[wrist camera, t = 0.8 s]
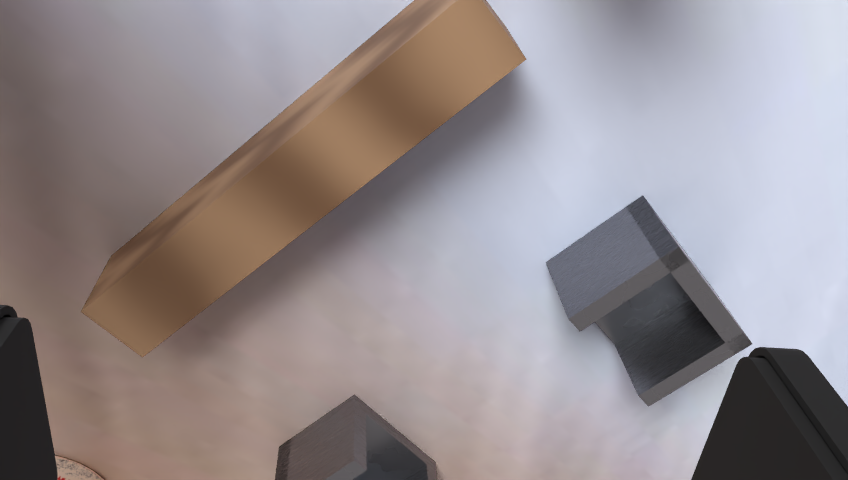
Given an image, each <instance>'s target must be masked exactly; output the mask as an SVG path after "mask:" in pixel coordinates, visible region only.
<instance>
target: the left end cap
mask: <svg viewBox="0 0 848 480" xmlns="http://www.w3.org/2000/svg"><path fill="white" fill-rule="evenodd" d="M275 480H437V471H436V462H434V461H433V460H432V459H431V458H430V457H428V456H427V455H426V454H425V453H424V452H422V451H421V450H420V449H419V448H418V447H416V446H415V445H414V444H413V443H412V442H410V441H409V440H408V439H407V438H406V437H404V436H403V435H402V434H401V433H400V432H398V431H397V430H396V429H395V428H394V427H392V426H391V425H390V424H389V423H388V422H386V421H385V420H384V419H383V418H382V417H380V416H379V415H378V414H377V413H376V412H374V411H373V410H372V409H371V408H369V407H368V406H367V405H366V404H365V403H363V402H362V401H361V400H360V399H359V398H357V397H356V396H355V395H354V396H352V397H351V398H349V399H348V400H346V401H345V402H343V403H342V404H340V405H339V406H338V407H336V408H335V409H333V410H332V411H330V412H329V413H327V414H326V415H325V416H323V417H322V418H320V419H319V420H317V421H316V422H314V423H313V424H312V425H310V426H309V427H307V428H306V429H304V430H303V431H301V432H300V433H299V434H297V435H296V436H294V437H293V438H291V439H290V440H288V441H287V442H286V443H284V444H283V445H281V446H280V447H279V452H278V460H277V468H276V476H275Z"/></svg>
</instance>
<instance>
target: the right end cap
mask: <svg viewBox="0 0 848 480" xmlns="http://www.w3.org/2000/svg"><path fill="white" fill-rule="evenodd" d="M546 264H547V266H548V269H549V271H550V274H551V276H552V279H553V281H554V284H555V286H556V289H557V291H558V294H559V296H560V299H561V301H562V304H563V306H564V309H565V311H566V314H567V316H568V319H569V320H570V321H571V322H572V323H573V324H574V326H575V327H576V328H577V329H578V330H579V331H582V330H583V329H585V328H586V327H588V326H589V325H591V324H592V323H594V322H595V323H596V324H597V325H598V326H599V327H600V328H601V329H602V331H603V332H604V333H605V334H606V335H607V336H608V337H609V338H610V340H611V341H612V342H613V343H614V344H615V346H616V348H617V350H618V353H619V355H620V357H621V359H622V361H623V363H624V366H625V368H626V370H627V372H628V374H629V376H630V379H631V381H632V383H633V385H634V387H635V389H636V391H637V394H638V396H639V397H640V398H641V399H642V400H643V401H644V402H645V403H646V404H647V406H650V405H652V404H653V403H655V402H657V401H658V400H660V399H662V398H663V397H665V396H667V395H668V394H670V393H672V392H673V391H675V390H677V389H678V388H680V387H682V386H683V385H685V384H687V383H688V382H690V381H692V380H693V379H695V378H697V377H698V376H700V375H702V374H703V373H705V372H707V371H708V370H710V369H712V368H713V367H715V366H717V365H718V364H720V363H722V362H723V361H725V360H727V359H728V358H730V357H732V356H733V355H735V354H736V353H738V352H740V351H741V350H743V349H745V348H746V347H748V346H750V345H751V344H752V343H751V341H750V340H749V338H748V337H747V336H746V334H745V333H744V331H743V330H742V329H741V327H740V326H739V324H738V323H737V322H736V320H735V319H734V317H733V316H732V315H731V313H730V312H729V310H728V309H727V308H726V306H725V305H724V303H723V302H722V301H721V299H720V298H719V296H718V295H717V294H716V292H715V291H714V289H713V288H712V287H711V285H710V284H709V283H708V281H707V280H706V279H705V277H704V276H703V275H702V273H701V272H700V271H699V269H698V268H697V267H696V265H695V264H694V263H693V261H692V260H691V259H690V257H689V256H688V255H687V253H686V252H685V251H684V249H683V248H682V247H681V245H680V244H679V243H678V241H677V240H676V239H675V237H674V236H673V235H672V233H671V232H670V231H669V230H668V228H667V227H666V226H665V224H664V223H663V222H662V220H661V219H660V218H659V216H658V215H657V214H656V212H655V211H654V210H653V208H652V207H651V206H650V204H649V203H648V202H647V200H646V199H645V198H644V196H641V197H640V198H638V199H637V200H636V201H634V202H633V203H631V204H630V205H628V206H627V207H625V208H624V209H623V210H621V211H620V212H618V213H617V214H615V215H614V216H612V217H611V218H610V219H608V220H607V221H605V222H604V223H602V224H601V225H599V226H598V227H597V228H595V229H594V230H592V231H591V232H589V233H588V234H586V235H585V236H584V237H582V238H581V239H579V240H578V241H576V242H575V243H573V244H572V245H571V246H569V247H568V248H566V249H565V250H563V251H562V252H560V253H559V254H557V255H556V256H555V257H553V258H552V259H550V260H549V261H547V262H546Z"/></svg>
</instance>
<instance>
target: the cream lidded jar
mask: <svg viewBox="0 0 848 480" xmlns="http://www.w3.org/2000/svg"><path fill="white" fill-rule="evenodd" d="M55 459H56V465H57V473H58V478H57V480H104V479H103V478H102V477H100V476H99V475H98V474H97V473H95V472H94V471H93V470H91V469H89V468H88V467H86V466H84V465H82V464H80V463H77V462H75V461H72V460H69V459H67V458H63V457H59V456H55Z"/></svg>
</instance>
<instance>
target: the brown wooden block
mask: <svg viewBox="0 0 848 480" xmlns="http://www.w3.org/2000/svg"><path fill="white" fill-rule="evenodd" d="M525 60H526V58H525V56H524V55H523V53H522V52H521V50H520V48H519V47H518V45H517V44H516V42H515V40H514V39H513V37H512V36H511V34H510V33H509V31H508V29H507V28H506V26H505V25H504V24H503V22H502V21H501V20H500V18H499V17H498V16H497V14H496V13H495V12H494V10H493V9H492V8H491V6H490V5H489V4H488V2H487V1H486V0H414V1H413V2H412V3H411V4H409V5H408V6H407V7H406V8H405V9H403V10H402V11H401V12H400V13H399V14H398V15H396V16H395V17H394V18H393V19H392V20H390V21H389V22H388V23H387V24H386V25H385V26H383V27H382V28H381V29H380V30H379V31H377V32H376V33H375V34H374V35H373V36H371V37H370V38H369V39H368V40H367V41H366V42H364V43H363V44H362V45H361V46H360V47H358V48H357V49H356V50H355V51H354V52H353V53H351V54H350V55H349V56H348V57H347V58H345V59H344V60H343V61H342V62H341V63H339V64H338V65H337V66H336V67H335V68H334V69H332V70H331V71H330V72H329V73H328V74H326V75H325V76H324V77H323V78H322V79H321V80H319V81H318V82H317V83H316V84H315V85H313V86H312V87H311V88H310V89H309V90H307V91H306V92H305V93H304V94H303V95H302V96H300V97H299V98H298V99H297V100H296V101H294V102H293V103H292V104H291V105H290V106H289V107H287V108H286V109H285V110H284V111H283V112H281V113H280V114H279V115H278V116H277V117H275V118H274V119H273V120H272V121H271V122H270V123H268V124H267V125H266V126H265V127H264V128H262V129H261V130H260V131H259V132H258V133H257V134H255V135H254V136H253V137H252V138H251V139H249V140H248V141H247V142H246V143H245V144H243V145H242V146H241V147H240V148H239V149H238V150H236V151H235V152H234V153H233V154H232V155H230V156H229V157H228V158H227V159H226V160H225V161H223V162H222V163H221V164H220V165H219V166H217V167H216V168H215V169H214V170H213V171H211V172H210V173H209V174H208V175H207V176H206V177H204V178H203V179H202V180H201V181H200V182H198V183H197V184H196V185H195V186H194V187H193V188H191V189H190V190H189V191H188V192H187V193H185V194H184V195H183V196H182V197H181V198H179V199H178V200H177V201H176V202H175V203H174V204H172V205H171V206H170V207H169V208H168V209H166V210H165V211H164V212H163V213H162V214H161V215H159V216H158V217H157V218H156V219H155V220H153V221H152V222H151V223H150V224H149V225H147V226H146V227H145V228H144V229H143V230H142V231H140V232H139V233H138V234H137V235H136V236H134V237H133V238H132V239H131V240H130V241H129V242H127V243H126V244H125V245H124V246H123V247H121V248H120V249H119V250H118V251H117V252H115V253H114V254H113V255H112V256H111V257H110V259H109V261H108V263H107V265H106V266H105V268H104V270H103V272H102V274H101V276H100V277H99V279H98V281H97V283H96V285H95V287H94V289H93V290H92V292H91V294H90V296H89V298H88V300H87V301H86V303H85V305H84V307H83V309H82V311H81V312H82V313H83V314H85V315H86V316H87V317H89V318H90V319H91V320H93V321H94V322H95V323H97V324H98V325H99V326H101V327H102V328H104V329H105V330H106V331H108V332H109V333H110V334H112V335H113V336H114V337H116V338H117V339H118V340H120V341H121V342H122V343H124V344H125V345H126V346H128V347H129V348H130V349H132V350H133V351H135V352H136V353H137V354H139V355H140V356H141V357H144V356H145V355H146V354H148V353H149V352H150V351H151V350H153V349H154V348H155V347H157V346H158V345H159V344H160V343H162V342H163V341H164V340H166V339H167V338H168V337H169V336H171V335H172V334H173V333H175V332H176V331H177V330H178V329H180V328H181V327H182V326H184V325H185V324H186V323H187V322H189V321H190V320H191V319H193V318H194V317H195V316H196V315H198V314H199V313H200V312H202V311H203V310H204V309H205V308H207V307H208V306H209V305H211V304H212V303H213V302H214V301H216V300H217V299H218V298H220V297H221V296H222V295H223V294H225V293H226V292H227V291H229V290H230V289H231V288H232V287H234V286H235V285H236V284H238V283H239V282H240V281H241V280H243V279H244V278H245V277H247V276H248V275H249V274H250V273H252V272H253V271H254V270H256V269H257V268H258V267H260V266H261V265H262V264H263V263H265V262H266V261H267V260H269V259H270V258H271V257H272V256H274V255H275V254H276V253H278V252H279V251H280V250H281V249H283V248H284V247H285V246H287V245H288V244H289V243H290V242H292V241H293V240H294V239H296V238H297V237H298V236H299V235H301V234H302V233H303V232H305V231H306V230H307V229H308V228H310V227H311V226H312V225H314V224H315V223H316V222H317V221H319V220H320V219H321V218H323V217H324V216H325V215H326V214H328V213H329V212H330V211H332V210H333V209H334V208H335V207H337V206H338V205H339V204H341V203H342V202H343V201H344V200H346V199H347V198H348V197H350V196H351V195H352V194H353V193H355V192H356V191H357V190H359V189H360V188H361V187H363V186H364V185H365V184H366V183H368V182H369V181H370V180H372V179H373V178H374V177H375V176H377V175H378V174H379V173H381V172H382V171H383V170H384V169H386V168H387V167H388V166H390V165H391V164H392V163H393V162H395V161H396V160H397V159H399V158H400V157H401V156H402V155H404V154H405V153H406V152H408V151H409V150H410V149H411V148H413V147H414V146H415V145H417V144H418V143H419V142H420V141H422V140H423V139H424V138H426V137H427V136H428V135H429V134H431V133H432V132H433V131H435V130H436V129H437V128H438V127H440V126H441V125H442V124H444V123H445V122H446V121H447V120H449V119H450V118H451V117H453V116H454V115H455V114H456V113H458V112H459V111H460V110H462V109H463V108H464V107H466V106H467V105H468V104H469V103H471V102H472V101H473V100H475V99H476V98H477V97H478V96H480V95H481V94H482V93H484V92H485V91H486V90H487V89H489V88H490V87H491V86H493V85H494V84H495V83H496V82H498V81H499V80H500V79H502V78H503V77H504V76H505V75H507V74H508V73H509V72H511V71H512V70H513V69H514V68H516V67H517V66H518V65H520V64H521V63H522V62H523V61H525Z"/></svg>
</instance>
